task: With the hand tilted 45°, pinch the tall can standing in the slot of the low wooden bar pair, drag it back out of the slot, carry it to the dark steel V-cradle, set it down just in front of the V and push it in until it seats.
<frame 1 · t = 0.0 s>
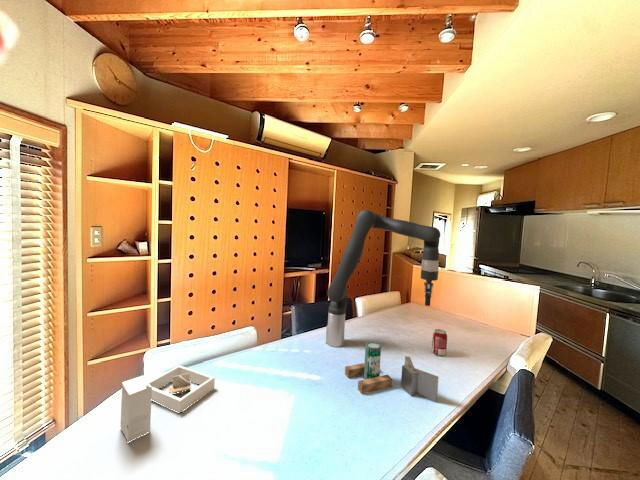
hand: (427, 303, 124), 29 cm above the table, tool pointing down, fingers open, 8 cm apart
wooden bar pair: (367, 380, 109), on the table
architectural model: (181, 396, 96), resting in holder tray
skincare box: (136, 431, 79), on the table
v cradle: (419, 388, 105), on the table
soda can: (438, 354, 135), on the table
holder tray: (179, 392, 97), on the table
can: (371, 380, 110), on the table
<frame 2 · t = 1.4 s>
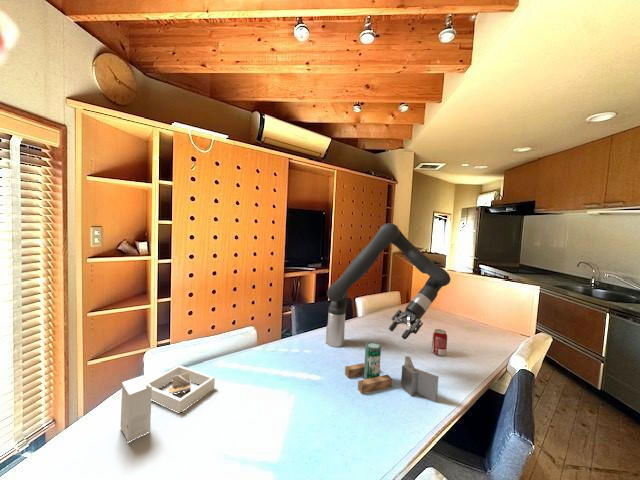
hand: (396, 334, 113), 18 cm above the table, tool tilted 45°, fingers open, 8 cm apart
nothing on the table moved.
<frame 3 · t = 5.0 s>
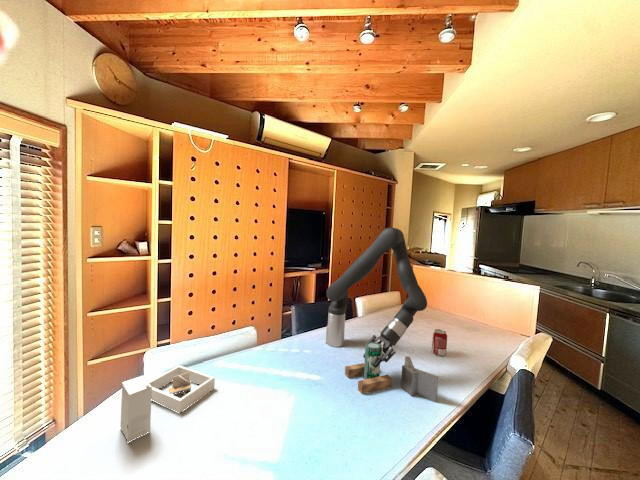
hand: (369, 362, 109), 8 cm above the table, tool tilted 45°, fingers closed on can, 6 cm apart
can: (371, 380, 110), on the table, touching gripper
everything else where it was.
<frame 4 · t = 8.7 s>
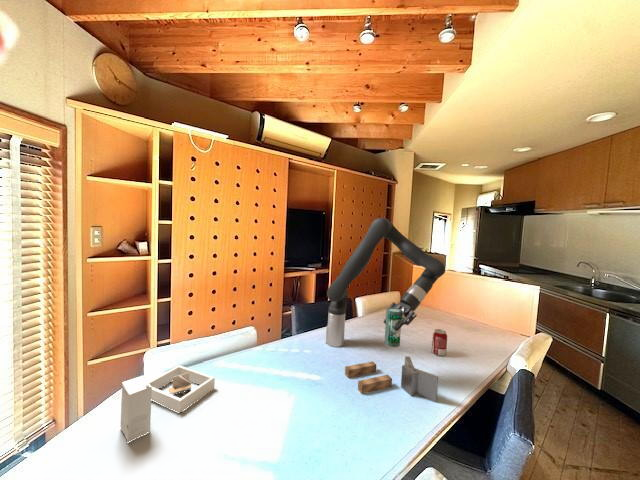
hand: (390, 326, 111), 22 cm above the table, tool tilted 45°, fingers closed on can, 6 cm apart
can: (392, 344, 113), point 14 cm above the table, touching gripper
everything else where it was.
when the fingers open (9 cm above the table, at t = 12.7 s): can stays where it is, on the table.
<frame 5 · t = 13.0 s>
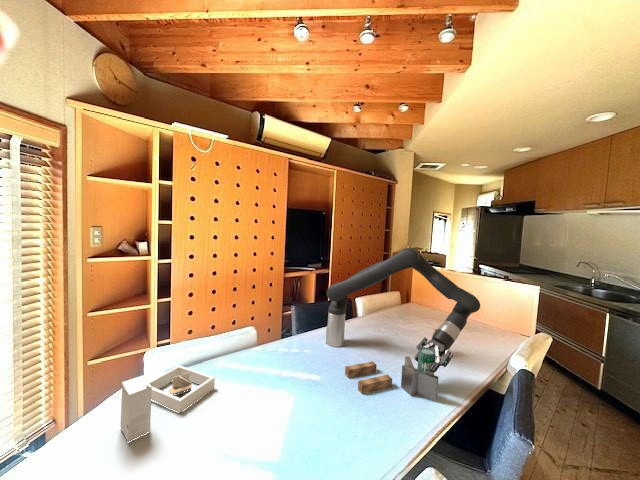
hand: (423, 365, 105), 9 cm above the table, tool tilted 45°, fingers open, 8 cm apart
architectural model: (181, 396, 96), resting in holder tray
can: (424, 387, 107), on the table
everything else where it was.
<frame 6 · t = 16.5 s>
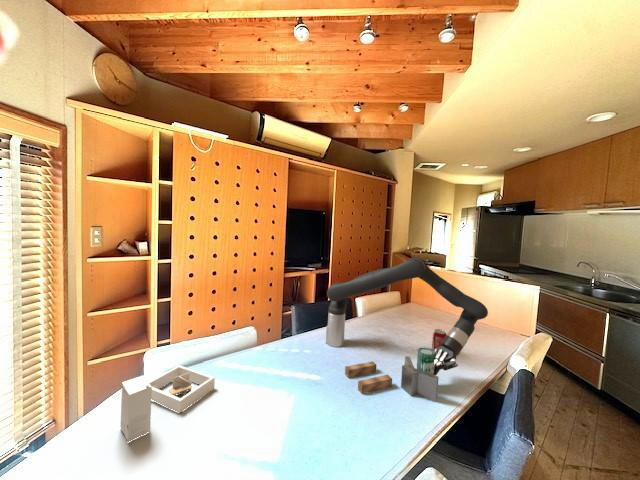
hand: (431, 374, 107), 5 cm above the table, tool tilted 45°, fingers closed
architectural model: (181, 396, 96), resting in holder tray
can: (424, 387, 106), on the table, touching gripper
everything else where it was.
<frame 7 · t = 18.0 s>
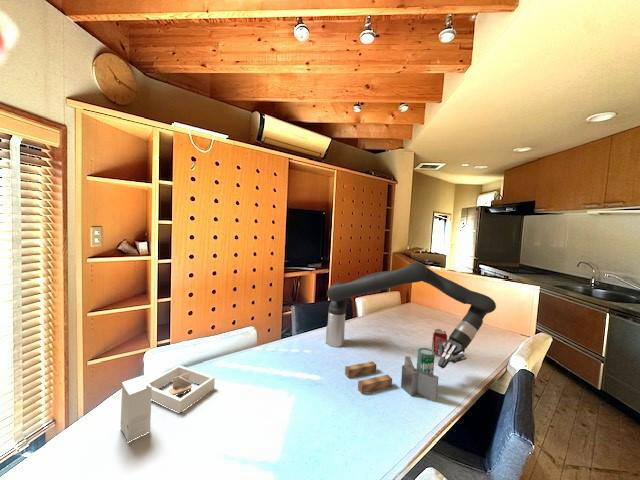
hand: (440, 366, 109), 7 cm above the table, tool tilted 45°, fingers closed
can: (423, 387, 106), on the table
everything else where it was.
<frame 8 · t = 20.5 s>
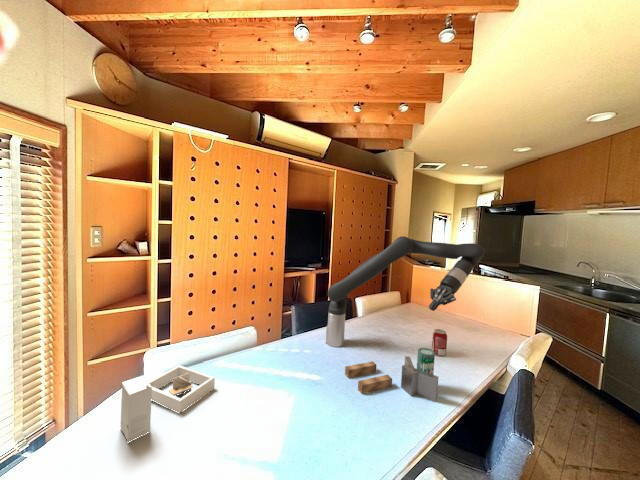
hand: (431, 309, 112), 30 cm above the table, tool tilted 45°, fingers closed
architectural model: (182, 396, 96), resting in holder tray
everything else where it was.
at the end: can 2.1 cm from the v cradle (horizontally); can tilted 0°; the gripper is holding nothing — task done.
